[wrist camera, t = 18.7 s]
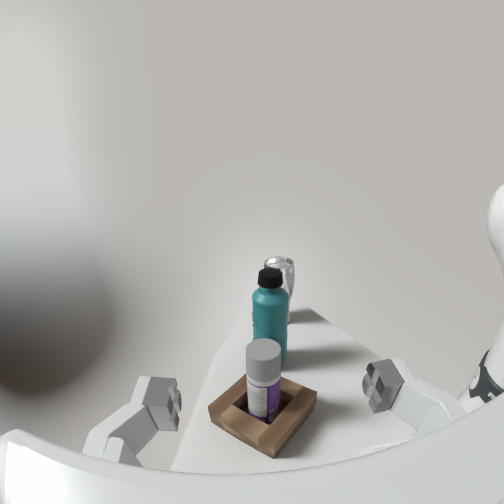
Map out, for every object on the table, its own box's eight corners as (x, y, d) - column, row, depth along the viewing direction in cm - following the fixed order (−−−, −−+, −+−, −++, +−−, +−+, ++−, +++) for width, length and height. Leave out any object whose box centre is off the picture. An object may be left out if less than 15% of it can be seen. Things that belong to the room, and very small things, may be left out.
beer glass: (296, 324, 63) (299, 266, 58) (267, 328, 62) (267, 270, 57) (287, 309, 70) (289, 254, 65) (261, 312, 69) (260, 257, 63)
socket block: (313, 408, 40) (317, 391, 38) (273, 458, 31) (274, 445, 29) (255, 381, 47) (255, 364, 45) (211, 421, 38) (207, 406, 36)
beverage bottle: (287, 352, 54) (291, 263, 47) (284, 374, 48) (289, 281, 41) (256, 350, 55) (254, 262, 48) (250, 371, 49) (246, 279, 42)
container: (272, 401, 41) (274, 334, 36) (282, 421, 37) (287, 355, 32) (245, 408, 40) (240, 341, 35) (253, 429, 36) (250, 364, 31)
